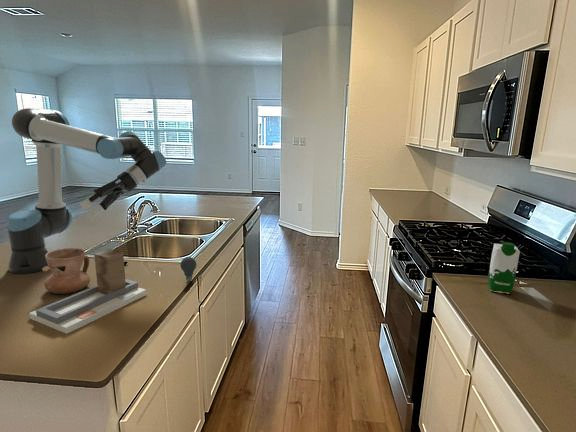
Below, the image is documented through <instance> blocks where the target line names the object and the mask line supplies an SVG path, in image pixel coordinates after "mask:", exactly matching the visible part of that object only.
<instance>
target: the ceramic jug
mask: <svg viewBox="0 0 576 432" xmlns="http://www.w3.org/2000/svg"><path fill="white" fill-rule="evenodd" d="M45 258H46V261H47V264H48V265H49V266H45V267H44V268H43V269H42V270H41V271H43V272H49V271H51V272H52V274H51V275H49V276H48V277H47V278H46V279H45V281H44V289H45V290H47V292H49V293H51V294H57V295H61V294H62V295H65V294H72V293H75V292H79V291H81V290H83V289H85V288H86V287H87V286H88V285H89V283H90V282H91V277H90V275H89V274H88V273H87V272H88V269H89V267H90V257H89V256H88V255H87V254H86V251H85V250H84V249H82V248H80V247H63V248H58V249H53V250H51V251H48V253H47V254H46V255H45ZM82 265H83V267H82ZM81 269H82V270H81Z"/></svg>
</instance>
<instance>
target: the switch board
mask: <svg viewBox="0 0 576 432" xmlns="http://www.w3.org/2000/svg"><path fill="white" fill-rule="evenodd" d="M125 282H126V286H125V287H122V288H120V289H118V290H115V291H113V292H111V293H109V294H103V293H100V292H98V286H97V285H95V286H92V287H89V288H86V289H84V290H82V291H80V292H79V291H78V292H77V293H74V294H72V295H70V296H67V297H65V298H62V299H59V300H56V301H55V302H52V303H50V304H47V305H44V306H42V307H40V308H37V309H36V310H33V311H31V312H29V313H28V314H29V319H30V320H33V321H35V322H37V323H40V324H42V325H44V326H47V327H49V328H51V329H54V330H56V331H58V332H61V333H64V334H66V335H67V334H69V333H72V332H74V331H76V330H79V328H82V327H84V326H87V325H88V324H90V323H93V322H94V321H97V320H98V319H100V318H102V317H104V316H107V315H108V314H111V313H112V312H115V311H117V310H119V309H120V308H122V307H124V306H126V305H129V304H131V303H133V302H136V301H137V300H139V299H141V298H143V297H145V296H147V289H145V288H140V287H139V282H138V281H134V280H131V279H127V278H125Z"/></svg>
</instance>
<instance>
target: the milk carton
mask: <svg viewBox="0 0 576 432" xmlns="http://www.w3.org/2000/svg"><path fill="white" fill-rule="evenodd" d="M520 253H521V251H520V249H518V247H517V246H516V245H515V243H513V242H509V241H503V242H502V243H493V247H492V251H491V257H490V262H489V269H488V277H487V278H488V279H487V286H488V285H489V286H488V288H489V287H490V289H491V290H493V291H502V292H509V293H511V292H513V288H514V285H515V280H516V275H517V270H518V264H519V260H520V259H519V258H520ZM490 289H489V290H490ZM511 294H512V293H511Z"/></svg>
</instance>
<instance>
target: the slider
mask: <svg viewBox="0 0 576 432" xmlns="http://www.w3.org/2000/svg"><path fill="white" fill-rule="evenodd" d="M93 255H94V262H95V263H94V264H95V273H96V274H95V276H96V286H98V292H100V293H103V294H109V293H111V292H113V291H115V290H118V289H120V288H122V287H125V286H126V282H125V279H126V271H125V265H124V262H125V259H124V258H125V257H124V252H123V251H118V250H114V249H106V250H103V251H99V252H97V253H94V254H93Z"/></svg>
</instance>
